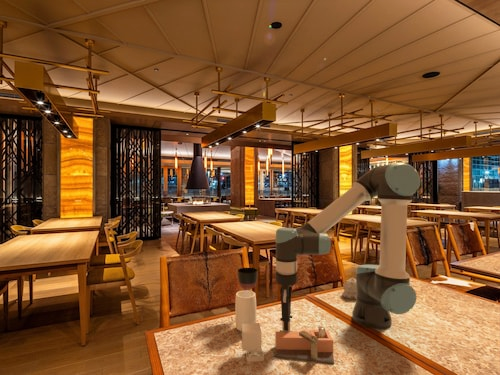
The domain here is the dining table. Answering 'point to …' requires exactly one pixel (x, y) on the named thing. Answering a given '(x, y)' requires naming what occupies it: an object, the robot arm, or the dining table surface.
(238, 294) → the cup
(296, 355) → the base
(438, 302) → the dining table surface
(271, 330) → the dining table surface
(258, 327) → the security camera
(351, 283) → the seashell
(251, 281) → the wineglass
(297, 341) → the link
